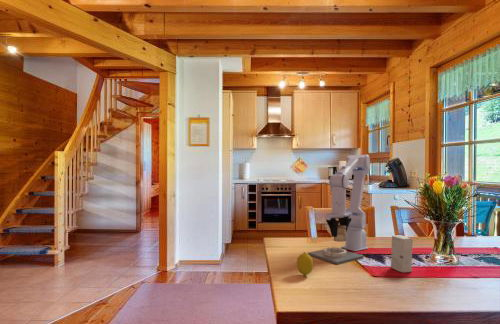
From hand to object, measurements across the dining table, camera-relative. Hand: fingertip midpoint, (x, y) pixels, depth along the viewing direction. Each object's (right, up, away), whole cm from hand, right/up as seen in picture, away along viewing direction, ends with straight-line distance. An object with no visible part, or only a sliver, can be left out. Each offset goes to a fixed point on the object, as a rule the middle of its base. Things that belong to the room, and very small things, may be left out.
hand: (338, 235), depth 132 cm
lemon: (-18, -9, -23) cm, 30 cm away
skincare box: (+19, -9, -16) cm, 26 cm away
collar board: (-1, -9, +1) cm, 9 cm away
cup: (0, -2, 0) cm, 2 cm away
